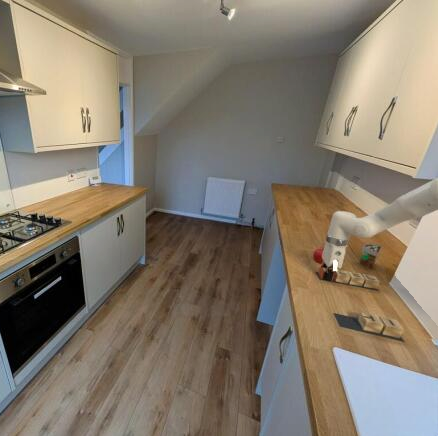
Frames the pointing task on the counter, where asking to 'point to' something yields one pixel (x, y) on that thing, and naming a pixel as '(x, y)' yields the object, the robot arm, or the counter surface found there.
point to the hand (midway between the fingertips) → (325, 276)
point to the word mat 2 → (358, 326)
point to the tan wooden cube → (370, 322)
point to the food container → (369, 254)
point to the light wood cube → (370, 281)
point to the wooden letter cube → (356, 279)
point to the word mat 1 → (346, 283)
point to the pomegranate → (318, 255)
